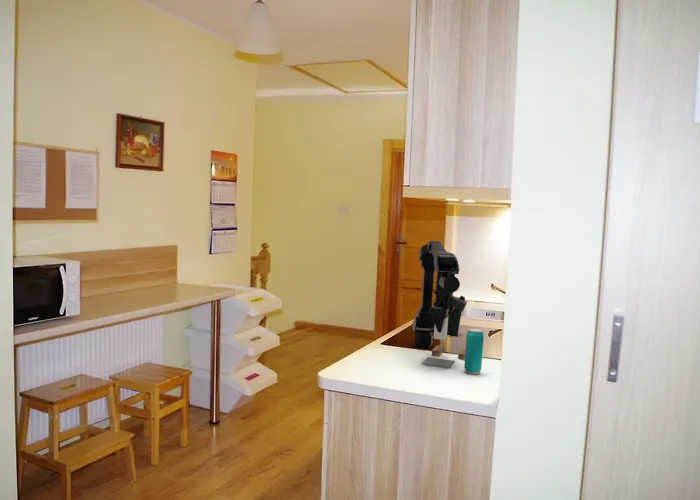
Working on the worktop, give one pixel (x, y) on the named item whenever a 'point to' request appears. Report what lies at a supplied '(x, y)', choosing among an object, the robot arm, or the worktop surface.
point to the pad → (438, 362)
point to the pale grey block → (443, 332)
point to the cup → (453, 322)
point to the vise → (440, 349)
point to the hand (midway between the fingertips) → (440, 331)
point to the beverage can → (474, 351)
